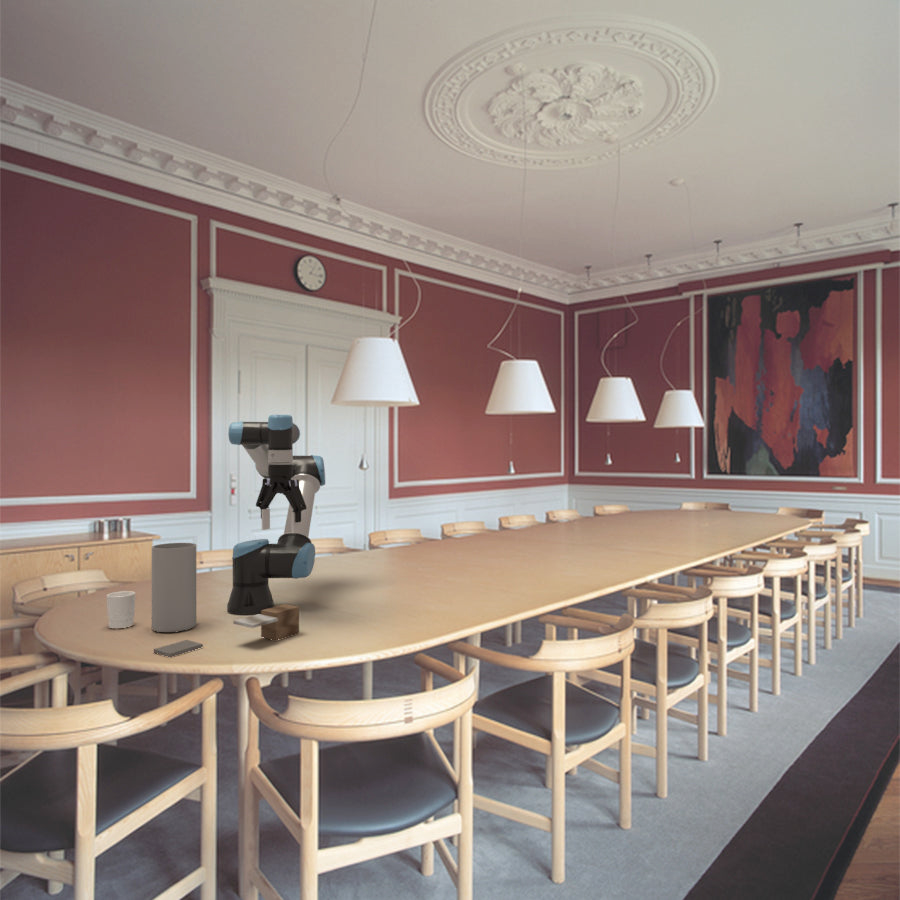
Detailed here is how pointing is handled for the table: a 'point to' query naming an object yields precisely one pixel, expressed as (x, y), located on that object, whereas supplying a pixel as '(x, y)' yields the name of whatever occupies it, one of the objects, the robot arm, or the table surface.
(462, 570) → the table surface
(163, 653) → the tile
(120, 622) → the white cup
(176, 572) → the cylinder vase
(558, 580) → the table surface
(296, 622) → the wood block with tab
